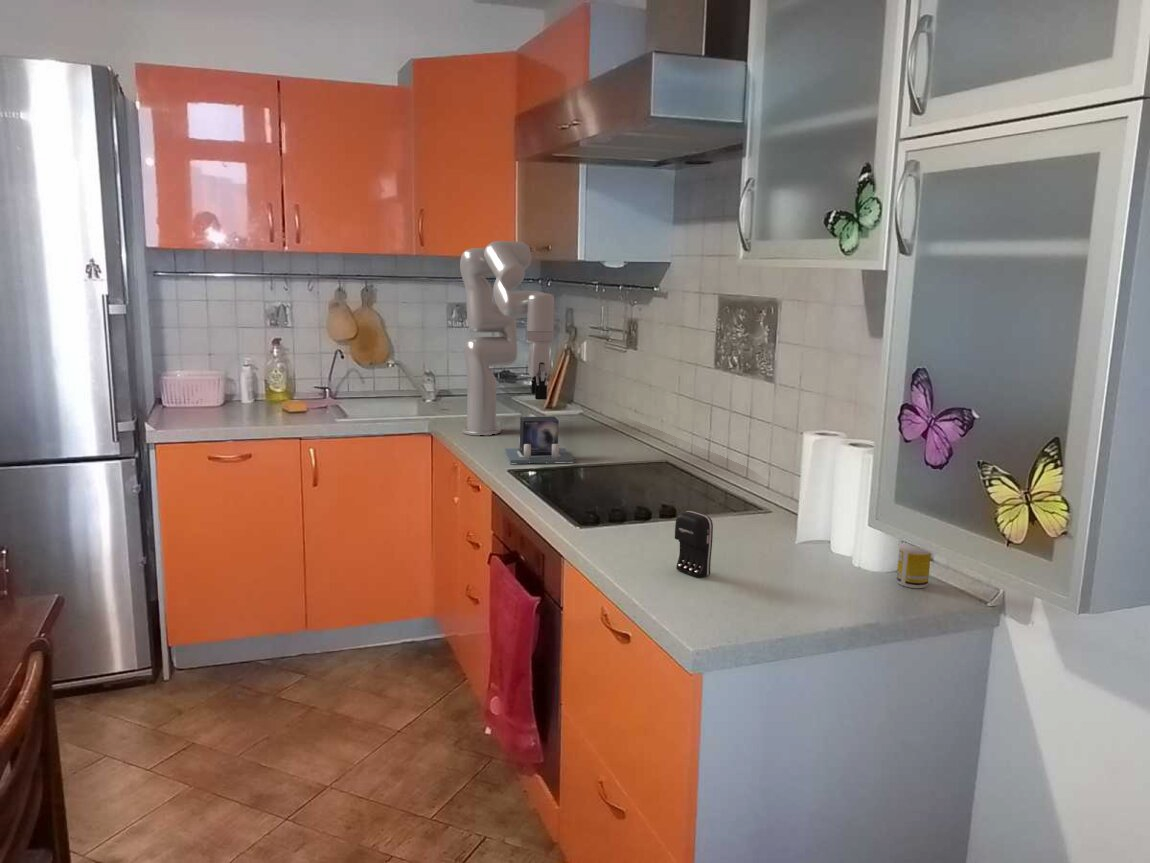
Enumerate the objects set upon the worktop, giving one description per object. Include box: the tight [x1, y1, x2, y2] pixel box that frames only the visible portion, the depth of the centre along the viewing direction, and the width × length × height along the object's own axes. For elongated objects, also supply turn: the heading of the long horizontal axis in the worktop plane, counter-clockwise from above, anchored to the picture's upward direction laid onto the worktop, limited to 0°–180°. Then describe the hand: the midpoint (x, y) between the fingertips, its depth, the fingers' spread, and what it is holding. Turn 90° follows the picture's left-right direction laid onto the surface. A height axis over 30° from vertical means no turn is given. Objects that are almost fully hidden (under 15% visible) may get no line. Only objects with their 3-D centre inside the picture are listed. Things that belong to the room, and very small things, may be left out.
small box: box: [519, 416, 559, 456], centre depth 263 cm, size 11×6×10 cm, turn 102°
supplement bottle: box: [896, 541, 932, 590], centre depth 165 cm, size 5×5×10 cm
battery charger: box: [674, 510, 714, 578], centre depth 168 cm, size 7×4×11 cm, turn 40°
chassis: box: [504, 435, 574, 464], centre depth 264 cm, size 16×18×5 cm
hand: (538, 396), depth 262 cm, fingers open, 9 cm apart
